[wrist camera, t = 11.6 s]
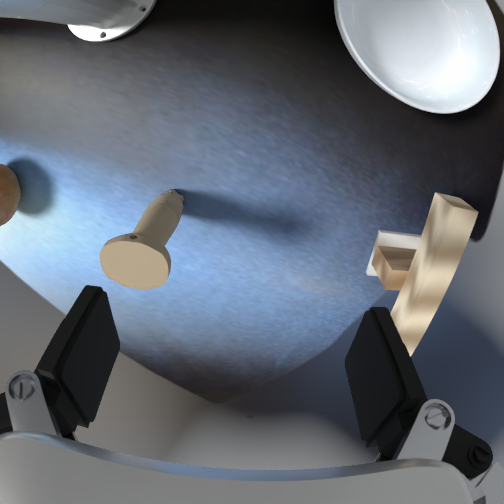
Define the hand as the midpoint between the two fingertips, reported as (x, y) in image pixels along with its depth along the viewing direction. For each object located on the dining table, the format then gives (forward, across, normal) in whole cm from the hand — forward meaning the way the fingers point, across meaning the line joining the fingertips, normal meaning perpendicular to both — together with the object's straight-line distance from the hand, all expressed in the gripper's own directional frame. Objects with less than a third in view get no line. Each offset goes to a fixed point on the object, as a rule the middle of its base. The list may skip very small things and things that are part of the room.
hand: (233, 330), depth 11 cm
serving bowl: (+28, -17, -19) cm, 38 cm away
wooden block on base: (+28, -23, +12) cm, 38 cm away
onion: (+28, +37, +5) cm, 47 cm away
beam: (+21, -23, +12) cm, 33 cm away
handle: (+28, +9, +7) cm, 31 cm away
